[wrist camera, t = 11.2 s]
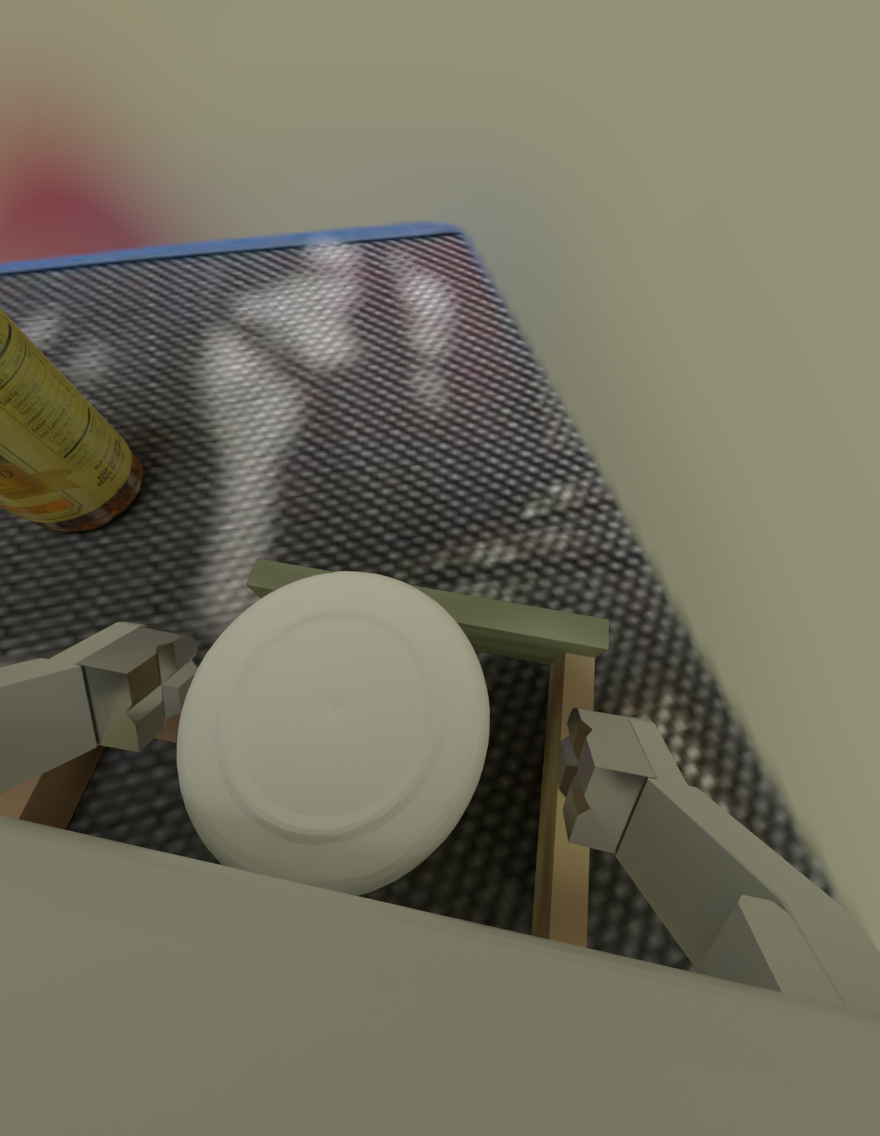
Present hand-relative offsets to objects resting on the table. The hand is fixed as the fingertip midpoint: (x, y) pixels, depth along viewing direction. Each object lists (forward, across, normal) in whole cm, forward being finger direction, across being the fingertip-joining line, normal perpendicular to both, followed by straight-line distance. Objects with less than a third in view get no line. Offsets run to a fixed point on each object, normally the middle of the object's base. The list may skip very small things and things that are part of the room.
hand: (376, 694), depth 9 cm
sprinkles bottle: (+7, 0, +8) cm, 11 cm away
